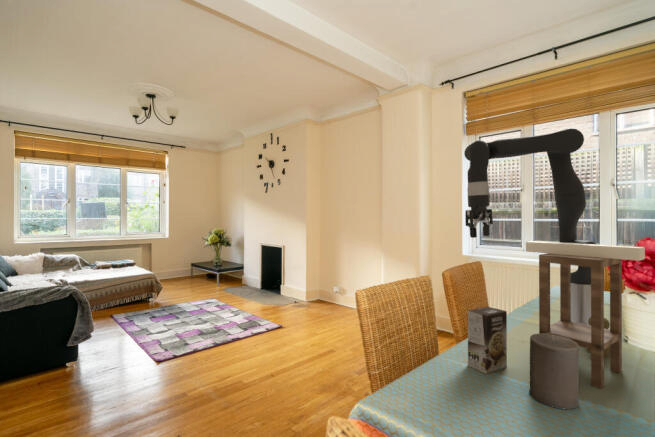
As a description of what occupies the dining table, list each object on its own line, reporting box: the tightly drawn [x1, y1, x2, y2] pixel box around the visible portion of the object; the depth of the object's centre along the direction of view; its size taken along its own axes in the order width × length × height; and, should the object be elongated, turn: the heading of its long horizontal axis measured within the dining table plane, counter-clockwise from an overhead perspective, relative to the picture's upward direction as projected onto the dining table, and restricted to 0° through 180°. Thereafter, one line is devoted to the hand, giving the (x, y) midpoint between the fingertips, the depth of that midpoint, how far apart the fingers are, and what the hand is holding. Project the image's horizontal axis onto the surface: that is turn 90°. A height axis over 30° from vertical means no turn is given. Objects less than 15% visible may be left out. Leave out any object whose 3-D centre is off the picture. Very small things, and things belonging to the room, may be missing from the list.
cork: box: [586, 317, 610, 358], centre depth 103 cm, size 6×6×11 cm
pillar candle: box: [528, 333, 580, 410], centre depth 78 cm, size 10×10×15 cm
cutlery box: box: [525, 240, 646, 262], centre depth 92 cm, size 4×26×3 cm, turn 34°
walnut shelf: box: [538, 253, 623, 390], centre depth 92 cm, size 16×14×32 cm
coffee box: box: [467, 306, 508, 375], centre depth 95 cm, size 9×6×16 cm
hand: (480, 236), depth 127 cm, fingers open, 8 cm apart
